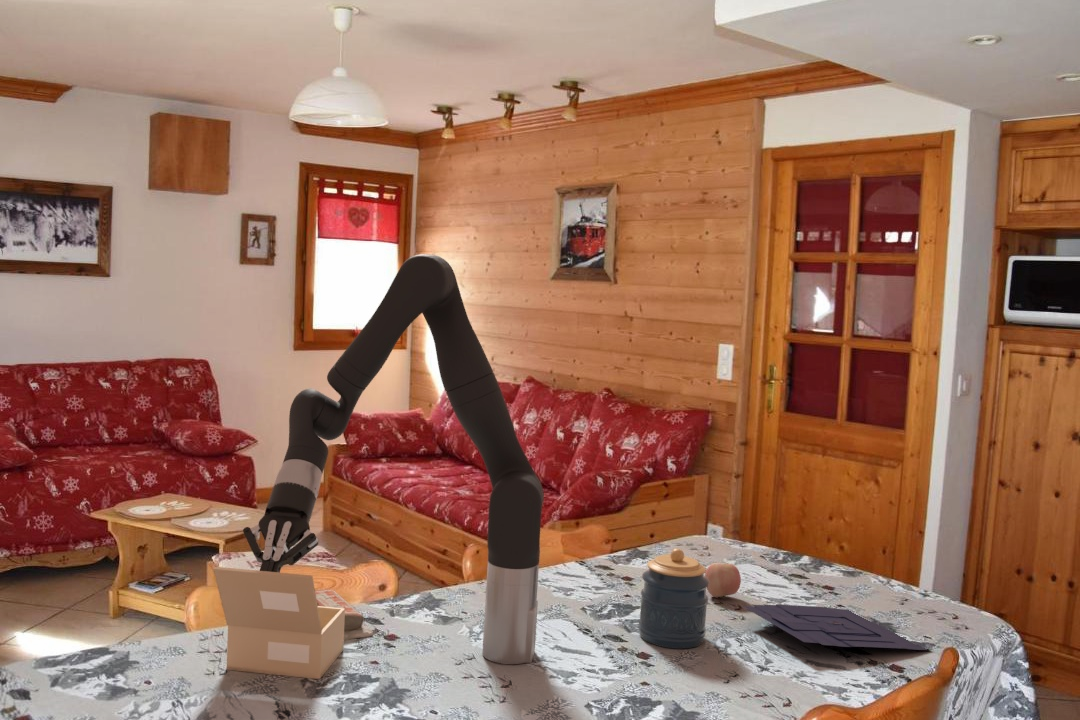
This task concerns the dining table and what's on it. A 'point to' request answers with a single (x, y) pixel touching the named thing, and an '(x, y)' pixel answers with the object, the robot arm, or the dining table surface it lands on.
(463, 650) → the dining table surface
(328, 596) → the packaged product
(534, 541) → the robot arm
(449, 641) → the dining table surface
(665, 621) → the canister
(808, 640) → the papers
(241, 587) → the lid
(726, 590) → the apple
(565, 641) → the dining table surface
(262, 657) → the mailer box
